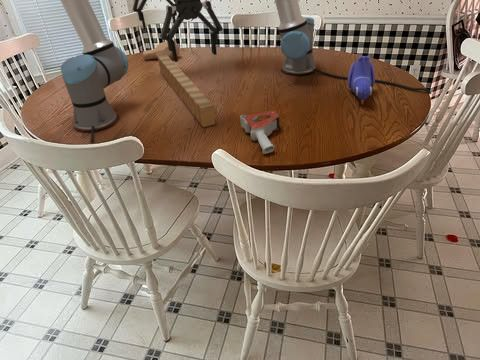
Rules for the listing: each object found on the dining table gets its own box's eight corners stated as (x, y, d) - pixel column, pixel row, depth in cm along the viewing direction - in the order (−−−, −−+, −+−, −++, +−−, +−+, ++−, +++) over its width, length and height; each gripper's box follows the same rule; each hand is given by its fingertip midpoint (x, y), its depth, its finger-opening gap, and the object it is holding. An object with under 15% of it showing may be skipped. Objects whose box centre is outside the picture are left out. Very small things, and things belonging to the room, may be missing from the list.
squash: (180, 60, 189) (175, 44, 182) (144, 67, 191) (138, 52, 184) (182, 51, 196) (177, 35, 190) (147, 58, 198) (141, 42, 192)
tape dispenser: (269, 161, 108) (297, 129, 121) (269, 147, 105) (298, 115, 117) (221, 145, 116) (252, 116, 128) (220, 131, 112) (252, 103, 125)
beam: (215, 124, 127) (213, 105, 123) (203, 127, 126) (200, 108, 121) (169, 69, 177) (167, 54, 173) (160, 71, 176) (157, 56, 172)
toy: (345, 95, 151) (349, 109, 128) (348, 53, 144) (352, 60, 122) (370, 95, 149) (378, 108, 126) (374, 52, 142) (383, 59, 120)
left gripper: (220, -21, 113) (225, 48, 125) (142, -12, 105) (156, 60, 118) (229, -18, 107) (233, 53, 119) (147, -8, 100) (161, 67, 112)
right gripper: (177, -33, 152) (184, 20, 165) (118, -27, 145) (130, 28, 157) (182, -32, 146) (189, 23, 159) (120, -25, 139) (133, 32, 152)
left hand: (195, 57), depth 119 cm, fingers open, 13 cm apart
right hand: (159, 26), depth 158 cm, fingers open, 13 cm apart
